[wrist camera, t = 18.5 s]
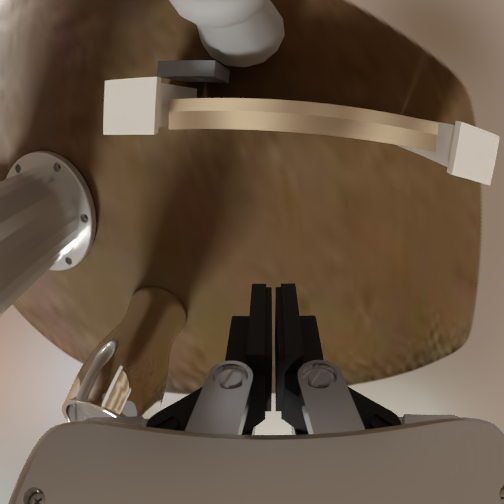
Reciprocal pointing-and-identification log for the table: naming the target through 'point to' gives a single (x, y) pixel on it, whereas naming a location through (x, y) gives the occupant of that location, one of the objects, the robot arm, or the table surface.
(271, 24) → the salt shaker
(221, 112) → the gate
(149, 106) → the gate posts
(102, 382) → the beer glass
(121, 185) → the table surface
